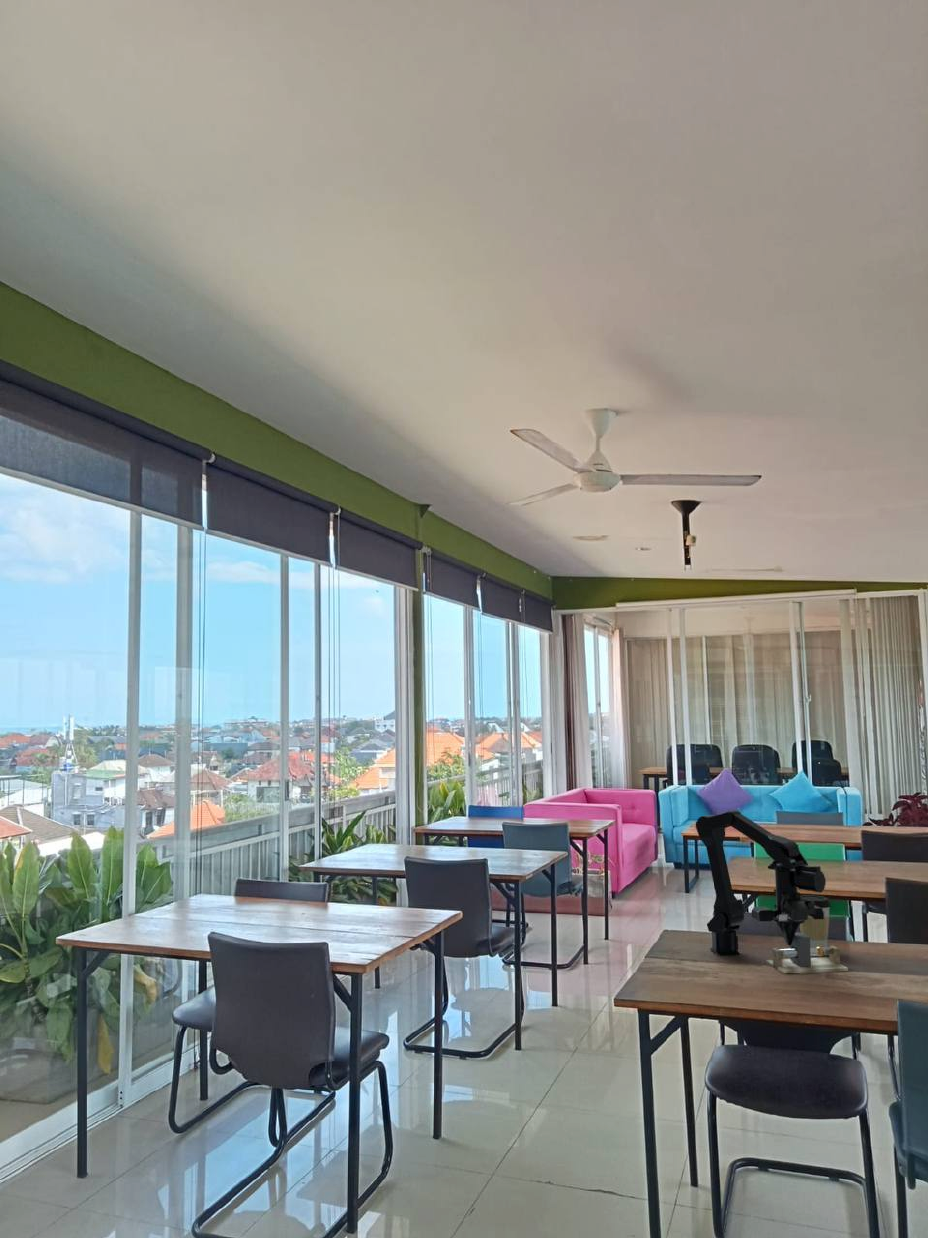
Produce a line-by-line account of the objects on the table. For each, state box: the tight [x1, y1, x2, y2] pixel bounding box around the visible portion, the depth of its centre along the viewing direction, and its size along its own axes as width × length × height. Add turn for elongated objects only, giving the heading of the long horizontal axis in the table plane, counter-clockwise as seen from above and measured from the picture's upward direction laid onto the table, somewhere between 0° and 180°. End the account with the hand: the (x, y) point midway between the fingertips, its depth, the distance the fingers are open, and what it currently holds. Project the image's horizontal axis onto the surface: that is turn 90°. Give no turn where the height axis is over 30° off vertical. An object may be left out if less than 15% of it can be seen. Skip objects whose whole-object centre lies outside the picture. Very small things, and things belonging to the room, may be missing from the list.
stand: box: [766, 945, 849, 974], centre depth 253 cm, size 18×11×5 cm, turn 97°
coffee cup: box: [799, 894, 832, 948], centre depth 270 cm, size 10×10×15 cm
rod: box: [773, 946, 834, 958], centre depth 253 cm, size 18×2×2 cm, turn 97°
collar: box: [789, 931, 812, 966], centre depth 253 cm, size 3×6×7 cm, turn 7°
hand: (789, 945), depth 252 cm, fingers closed
